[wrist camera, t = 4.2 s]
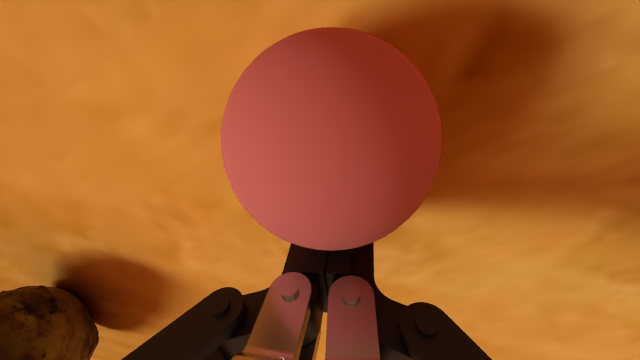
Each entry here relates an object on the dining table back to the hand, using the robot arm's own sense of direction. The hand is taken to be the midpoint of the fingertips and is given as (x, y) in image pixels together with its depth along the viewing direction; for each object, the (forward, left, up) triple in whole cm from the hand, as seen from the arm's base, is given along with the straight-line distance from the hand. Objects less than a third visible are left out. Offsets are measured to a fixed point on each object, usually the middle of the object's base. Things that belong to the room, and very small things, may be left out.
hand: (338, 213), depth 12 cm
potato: (+23, +13, -2) cm, 27 cm away
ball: (0, -4, +1) cm, 4 cm away
